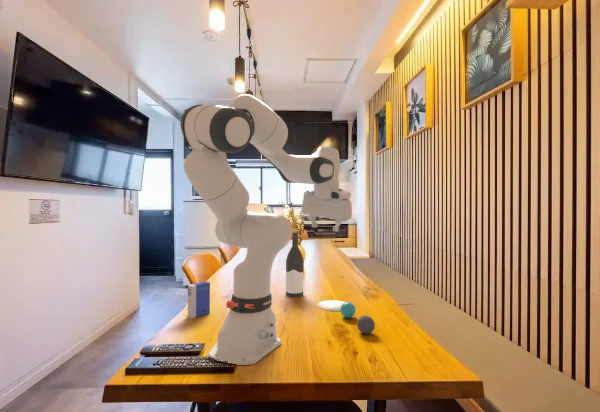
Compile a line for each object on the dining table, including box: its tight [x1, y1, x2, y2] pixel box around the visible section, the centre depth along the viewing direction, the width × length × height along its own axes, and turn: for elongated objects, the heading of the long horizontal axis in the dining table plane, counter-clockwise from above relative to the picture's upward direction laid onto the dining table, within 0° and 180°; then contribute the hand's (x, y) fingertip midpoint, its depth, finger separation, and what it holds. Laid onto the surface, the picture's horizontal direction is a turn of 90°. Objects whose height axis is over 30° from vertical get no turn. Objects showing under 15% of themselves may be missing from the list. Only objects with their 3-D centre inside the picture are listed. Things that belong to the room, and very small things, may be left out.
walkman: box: [187, 280, 211, 319], centre depth 121 cm, size 8×3×12 cm, turn 139°
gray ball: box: [356, 315, 376, 335], centre depth 106 cm, size 6×6×6 cm
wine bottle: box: [285, 228, 305, 298], centre depth 150 cm, size 8×8×30 cm
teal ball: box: [339, 301, 356, 319], centre depth 120 cm, size 6×6×6 cm
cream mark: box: [317, 299, 346, 312], centre depth 134 cm, size 14×14×1 cm
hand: (324, 229), depth 121 cm, fingers open, 8 cm apart
